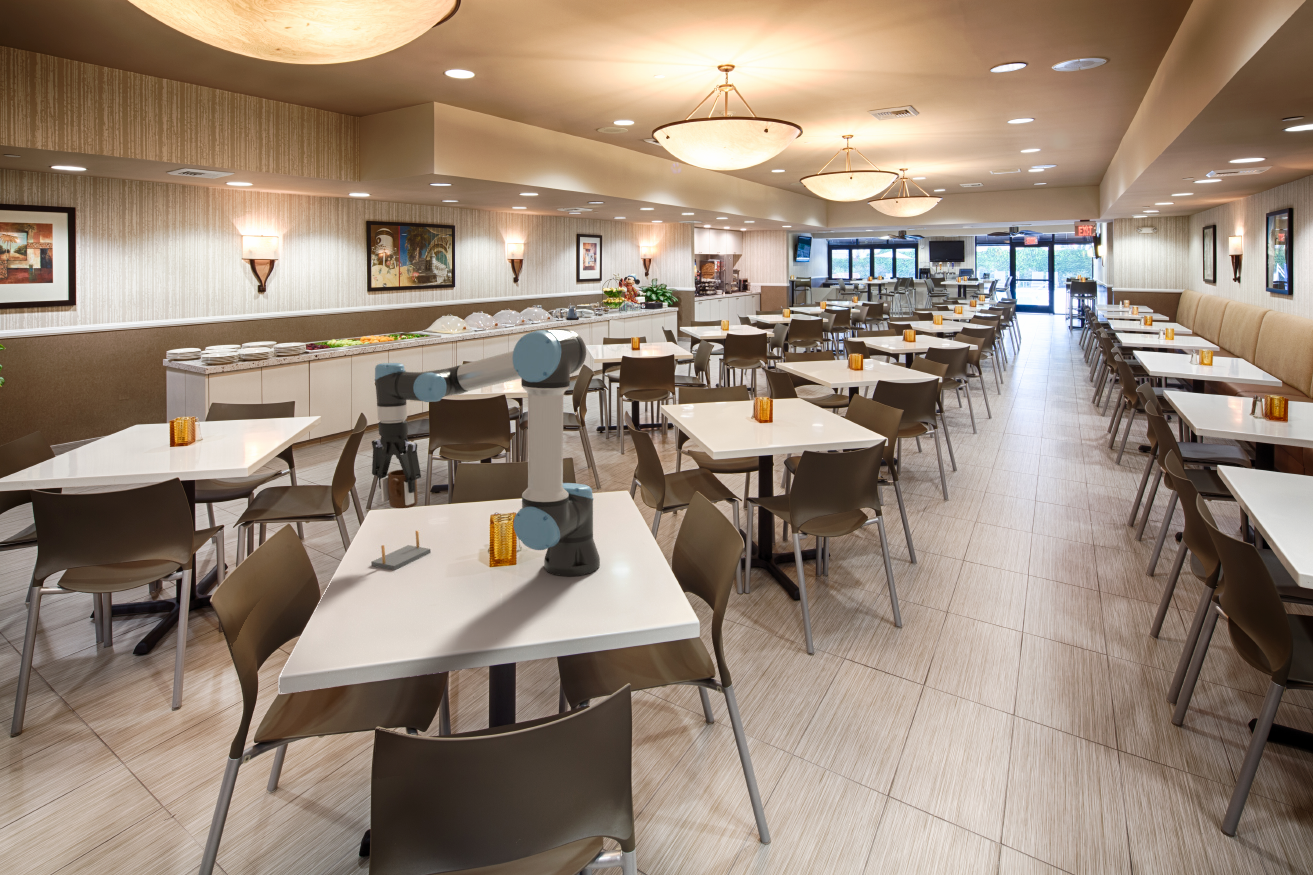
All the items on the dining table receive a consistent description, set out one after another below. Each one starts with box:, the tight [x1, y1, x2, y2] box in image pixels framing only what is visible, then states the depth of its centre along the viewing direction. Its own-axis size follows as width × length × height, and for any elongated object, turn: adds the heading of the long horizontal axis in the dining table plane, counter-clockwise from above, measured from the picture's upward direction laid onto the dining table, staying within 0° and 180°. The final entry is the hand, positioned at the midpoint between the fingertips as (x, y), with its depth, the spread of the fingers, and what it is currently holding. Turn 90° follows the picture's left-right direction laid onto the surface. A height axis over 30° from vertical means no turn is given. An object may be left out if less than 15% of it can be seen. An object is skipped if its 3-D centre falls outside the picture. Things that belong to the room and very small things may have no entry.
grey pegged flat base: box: [371, 530, 432, 571], centre depth 204 cm, size 8×15×6 cm, turn 158°
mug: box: [387, 469, 419, 509], centre depth 201 cm, size 12×8×9 cm, turn 178°
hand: (398, 502), depth 202 cm, fingers closed on mug, 7 cm apart
